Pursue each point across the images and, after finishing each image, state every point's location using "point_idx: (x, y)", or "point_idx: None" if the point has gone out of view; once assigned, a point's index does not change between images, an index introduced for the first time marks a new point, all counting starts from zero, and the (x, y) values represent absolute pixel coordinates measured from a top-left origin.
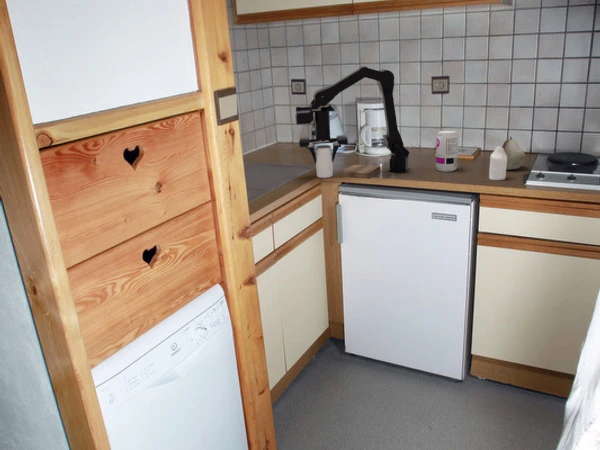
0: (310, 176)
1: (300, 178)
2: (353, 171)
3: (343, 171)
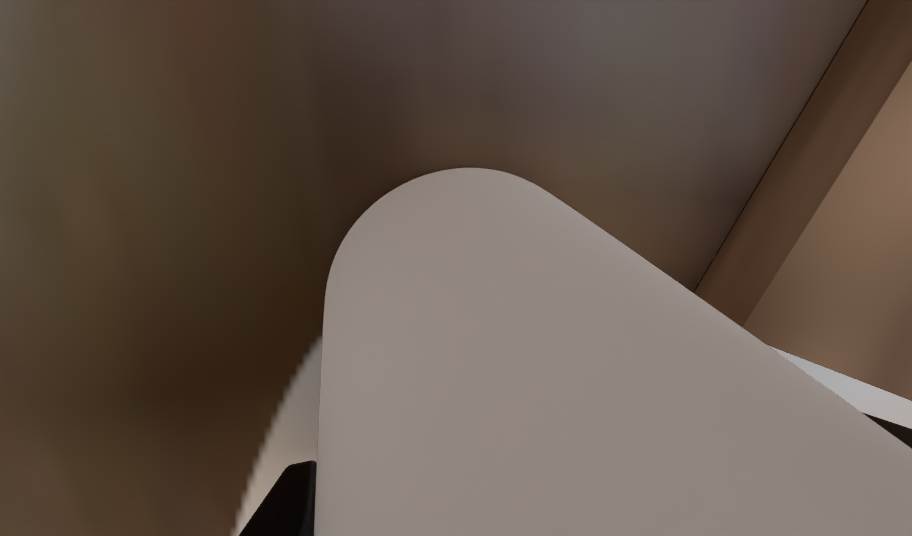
0: (202, 286)
1: (44, 407)
2: (907, 355)
3: (778, 348)
